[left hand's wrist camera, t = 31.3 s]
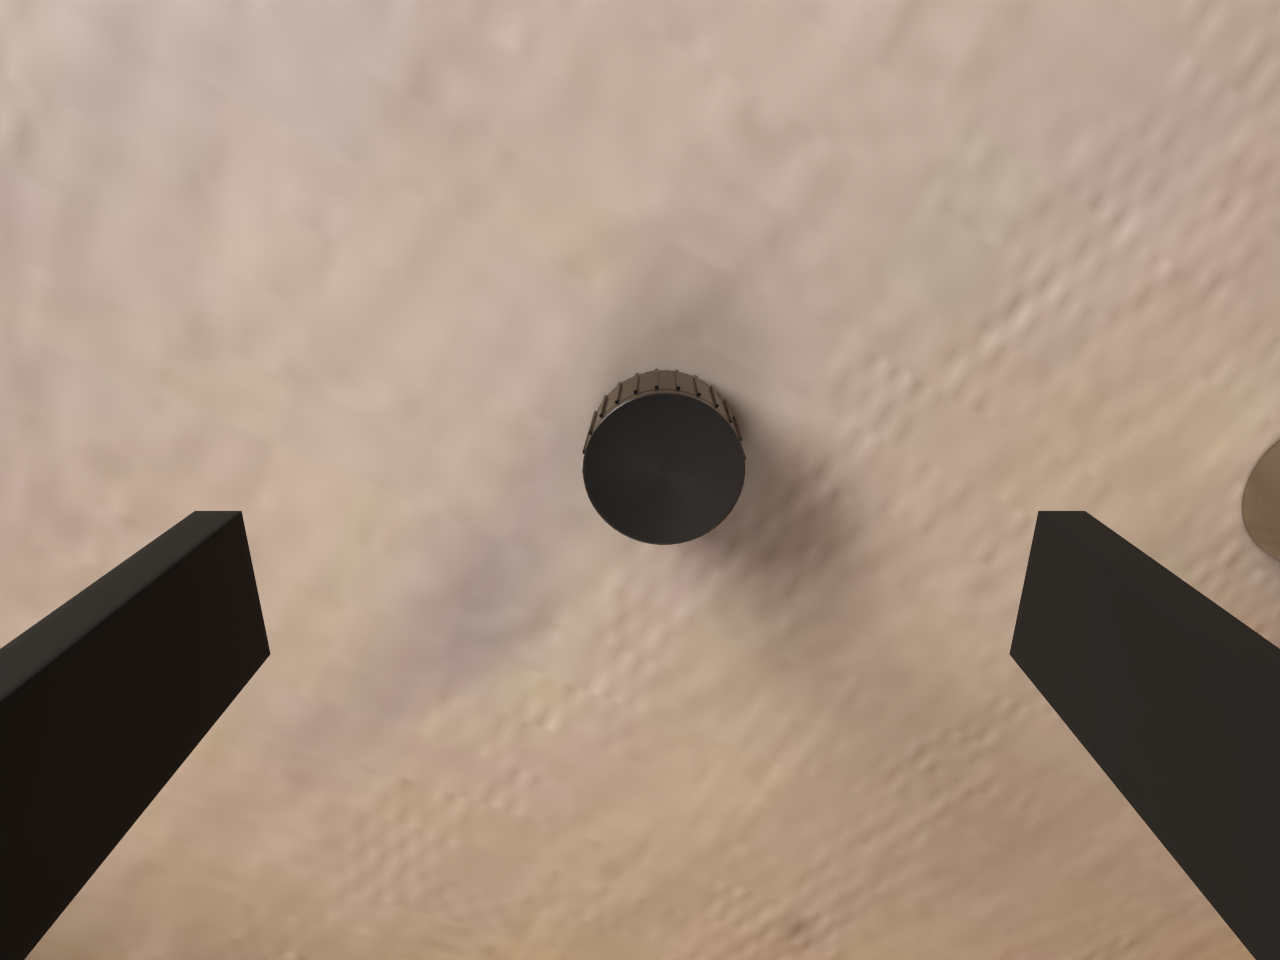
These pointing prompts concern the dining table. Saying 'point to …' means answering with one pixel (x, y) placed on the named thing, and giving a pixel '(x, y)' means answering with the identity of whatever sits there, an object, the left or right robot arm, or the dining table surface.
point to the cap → (663, 458)
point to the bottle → (1264, 503)
